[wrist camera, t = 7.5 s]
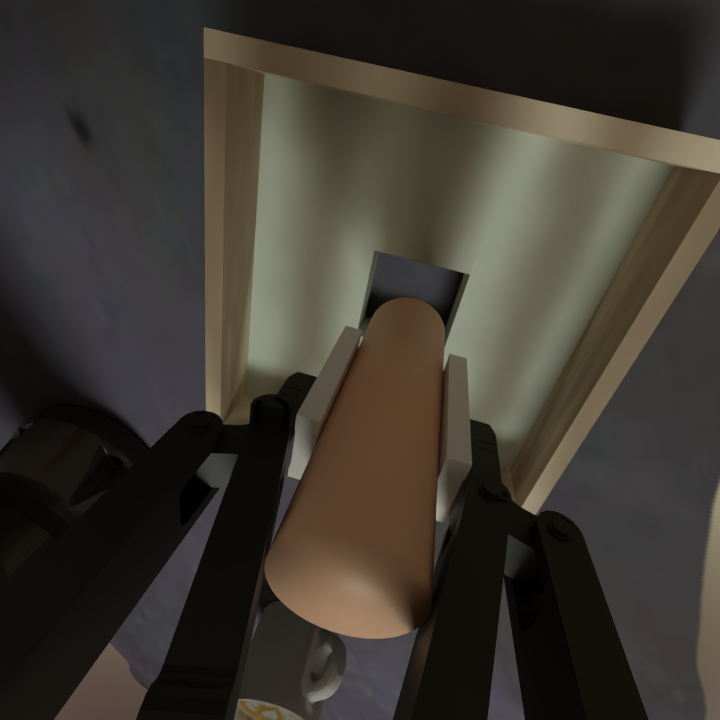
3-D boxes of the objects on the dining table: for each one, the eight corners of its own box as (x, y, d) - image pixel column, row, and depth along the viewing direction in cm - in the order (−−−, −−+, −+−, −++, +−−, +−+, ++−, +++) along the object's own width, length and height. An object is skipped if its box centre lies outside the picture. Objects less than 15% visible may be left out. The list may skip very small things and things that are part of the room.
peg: (362, 355, 23) (259, 607, 11) (377, 288, 21) (271, 509, 9) (432, 374, 22) (406, 655, 10) (455, 308, 20) (455, 566, 8)
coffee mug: (288, 648, 55) (258, 744, 46) (248, 603, 51) (207, 698, 43) (377, 643, 50) (361, 750, 41) (340, 594, 46) (315, 699, 38)
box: (249, 379, 34) (206, 433, 28) (270, 54, 22) (203, 27, 16) (513, 453, 32) (527, 527, 26) (678, 144, 21) (769, 151, 15)
